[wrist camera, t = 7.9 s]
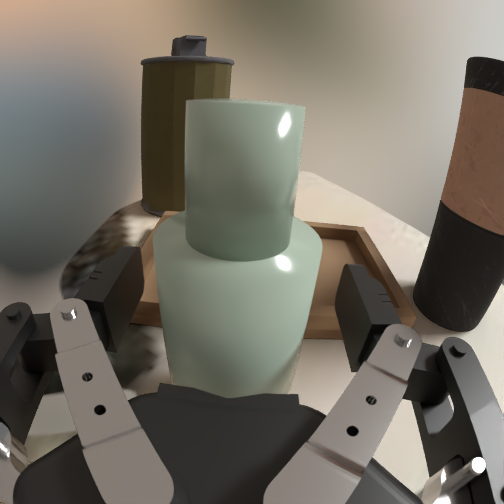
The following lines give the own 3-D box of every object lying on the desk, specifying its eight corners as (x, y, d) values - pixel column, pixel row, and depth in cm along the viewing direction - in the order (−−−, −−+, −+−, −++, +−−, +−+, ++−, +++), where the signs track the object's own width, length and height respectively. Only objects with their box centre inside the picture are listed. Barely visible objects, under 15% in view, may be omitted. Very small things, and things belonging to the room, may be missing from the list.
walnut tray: (117, 320, 20) (112, 297, 19) (166, 229, 32) (165, 210, 31) (406, 338, 20) (416, 317, 19) (359, 244, 32) (363, 227, 31)
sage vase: (172, 452, 12) (115, 107, 6) (186, 372, 17) (173, 97, 10) (284, 458, 13) (373, 122, 6) (278, 377, 17) (321, 105, 10)
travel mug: (393, 293, 25) (449, 49, 15) (436, 273, 28) (485, 76, 18) (459, 347, 19) (548, 73, 9) (492, 314, 23) (560, 101, 13)
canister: (240, 211, 37) (253, 37, 27) (152, 225, 32) (154, 29, 23) (204, 183, 45) (212, 45, 35) (133, 193, 40) (134, 43, 31)
